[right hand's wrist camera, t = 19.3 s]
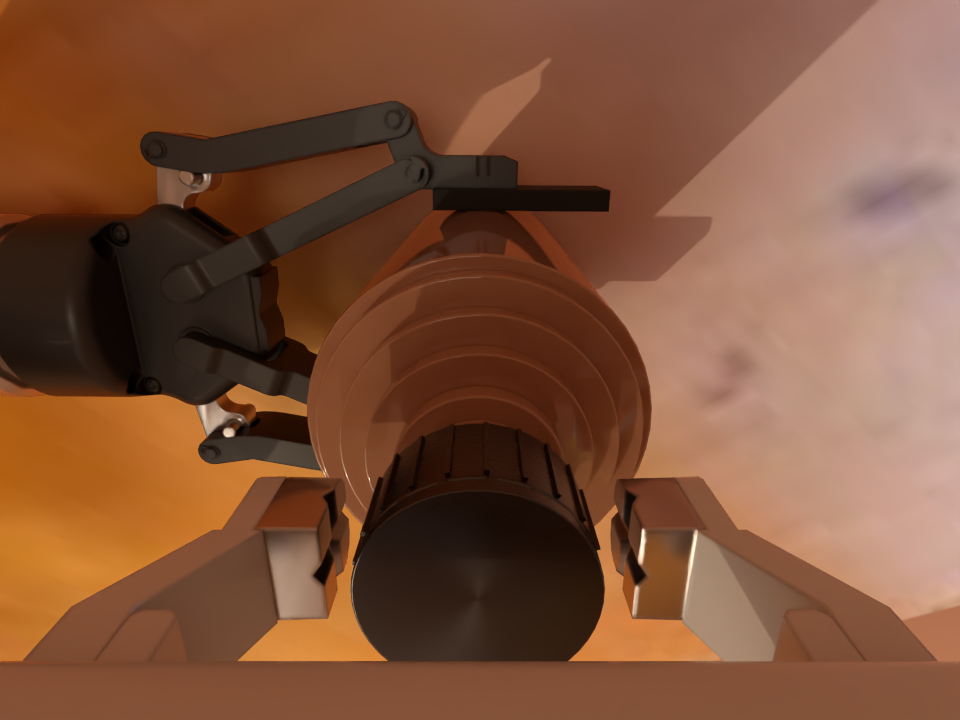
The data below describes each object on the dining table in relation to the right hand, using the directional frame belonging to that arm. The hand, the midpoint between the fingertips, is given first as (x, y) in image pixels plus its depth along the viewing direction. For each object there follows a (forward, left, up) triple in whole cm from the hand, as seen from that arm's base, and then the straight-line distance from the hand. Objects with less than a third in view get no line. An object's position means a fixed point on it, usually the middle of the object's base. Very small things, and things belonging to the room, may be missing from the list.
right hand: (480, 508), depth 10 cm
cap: (0, 0, +2) cm, 2 cm away
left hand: (-5, 0, -14) cm, 15 cm away
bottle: (0, 0, -20) cm, 20 cm away
